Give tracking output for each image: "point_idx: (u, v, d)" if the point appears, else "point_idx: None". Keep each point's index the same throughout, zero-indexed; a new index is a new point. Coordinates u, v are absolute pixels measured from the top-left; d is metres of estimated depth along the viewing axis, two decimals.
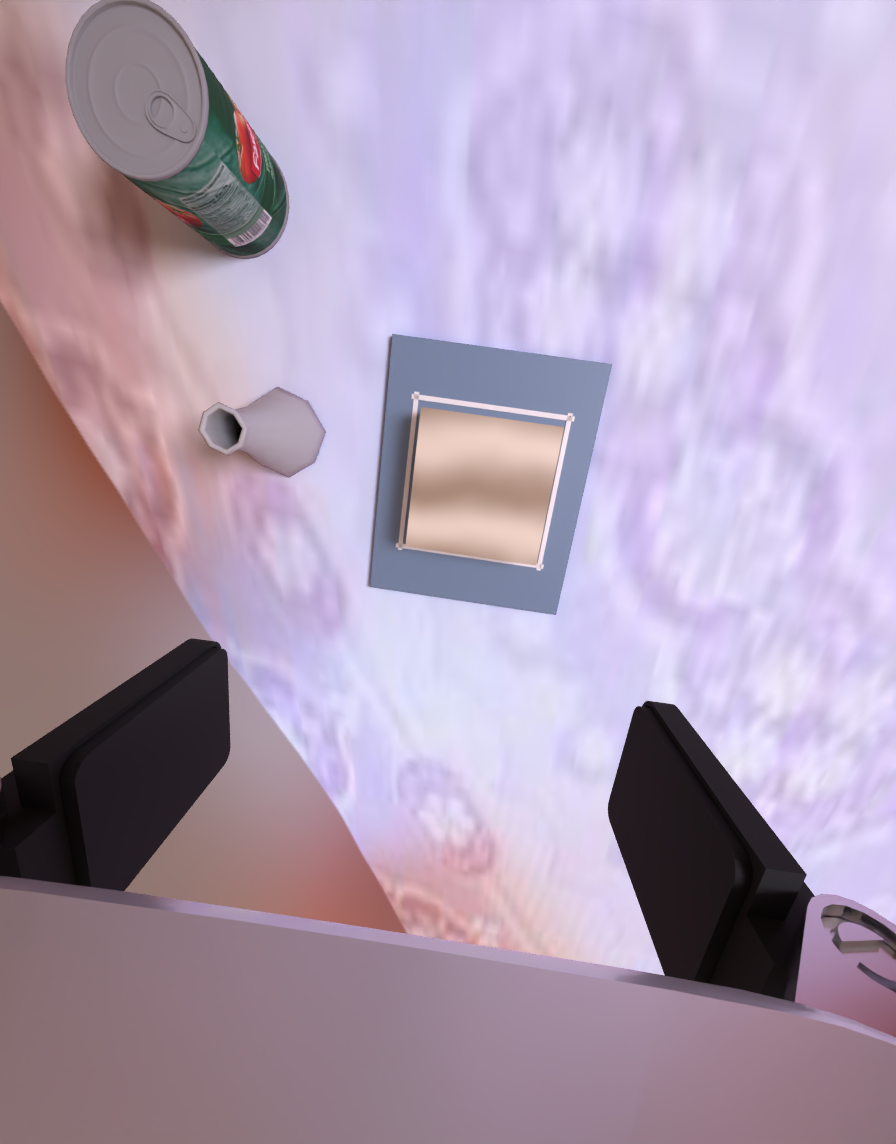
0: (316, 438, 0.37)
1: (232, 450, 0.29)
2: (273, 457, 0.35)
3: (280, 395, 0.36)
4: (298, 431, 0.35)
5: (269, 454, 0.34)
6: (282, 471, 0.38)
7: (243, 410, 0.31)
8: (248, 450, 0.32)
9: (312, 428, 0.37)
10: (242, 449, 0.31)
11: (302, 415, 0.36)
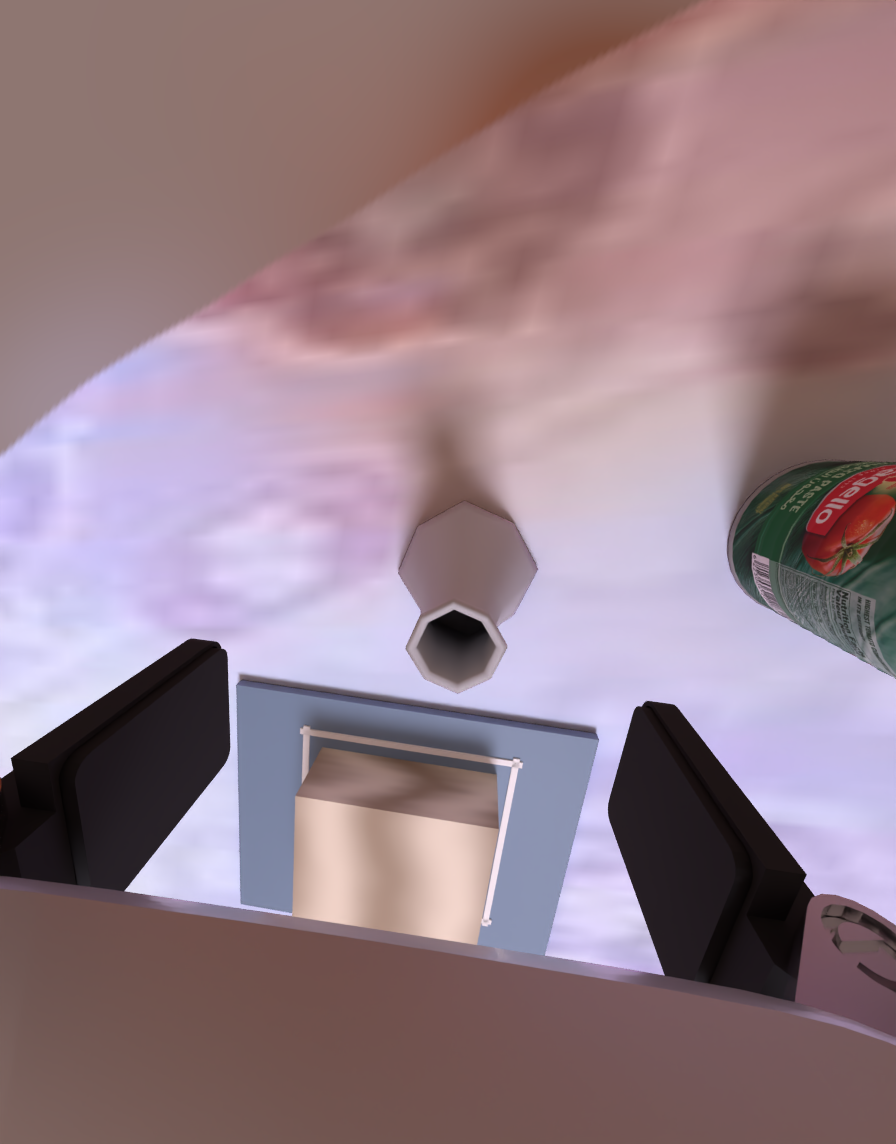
0: (458, 632, 0.24)
1: (415, 661, 0.15)
2: None
3: (523, 590, 0.22)
4: (465, 637, 0.21)
5: None
6: None
7: None
8: None
9: (472, 634, 0.23)
10: None
11: None
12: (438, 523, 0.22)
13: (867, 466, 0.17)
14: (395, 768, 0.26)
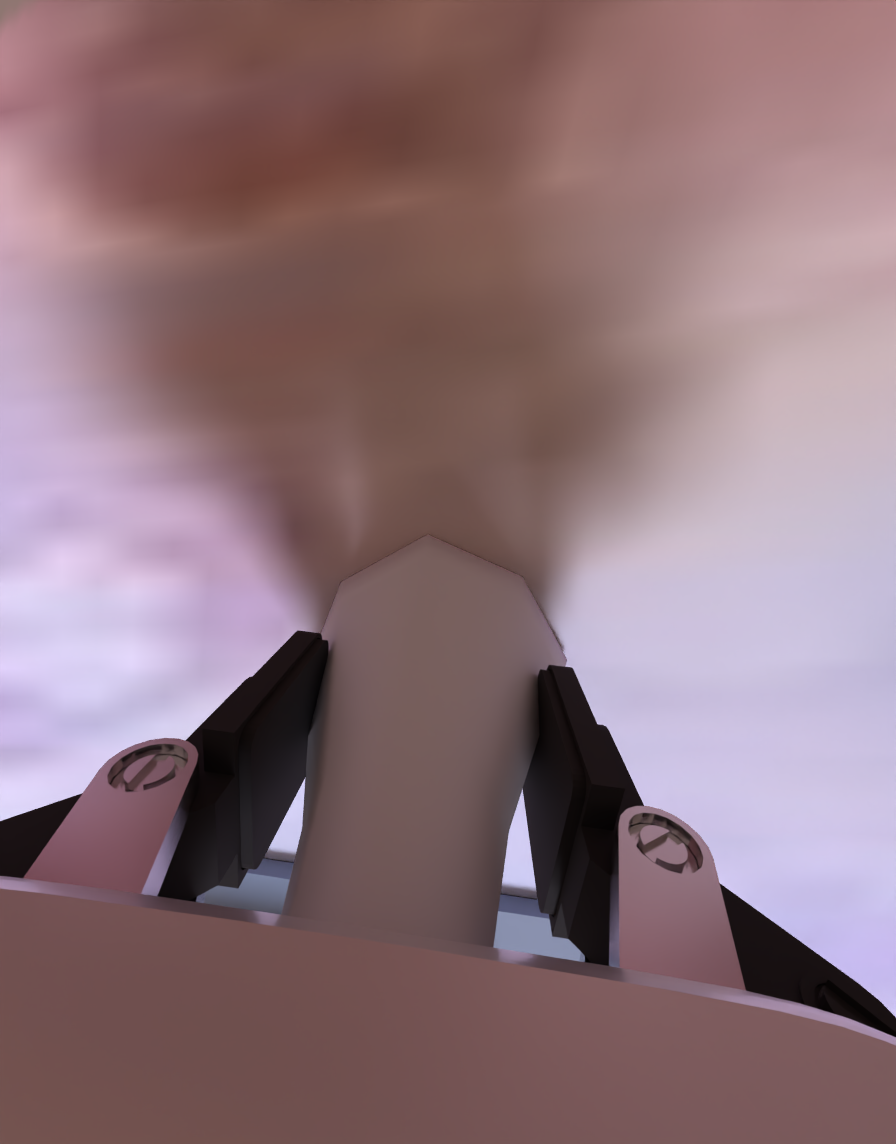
0: None
1: None
2: None
3: None
4: None
5: None
6: None
7: None
8: None
9: None
10: None
11: None
12: (376, 582, 0.11)
13: None
14: None
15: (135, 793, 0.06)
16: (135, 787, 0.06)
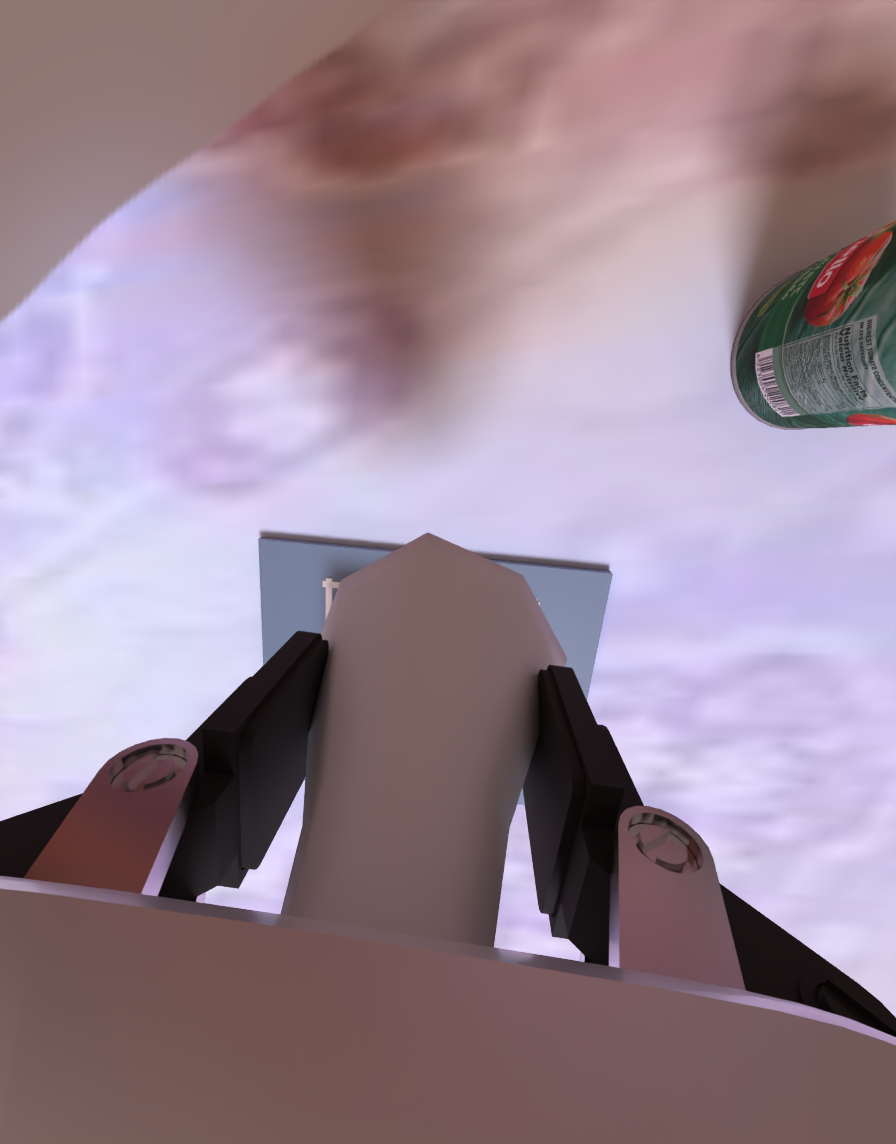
0: None
1: None
2: None
3: None
4: None
5: None
6: None
7: None
8: None
9: None
10: None
11: None
12: (376, 580, 0.11)
13: None
14: None
15: (135, 793, 0.06)
16: (135, 787, 0.06)
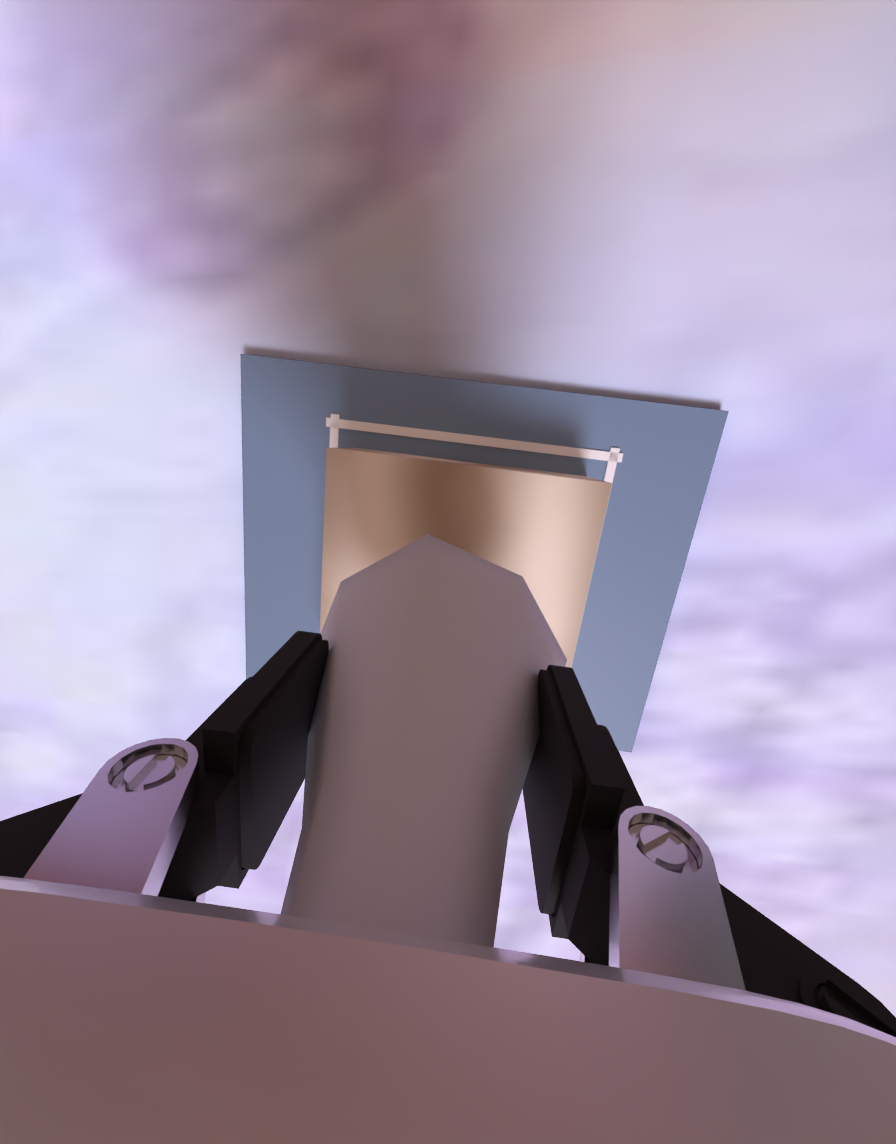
0: None
1: None
2: None
3: None
4: None
5: None
6: None
7: None
8: None
9: None
10: None
11: None
12: (376, 581, 0.11)
13: None
14: (454, 460, 0.19)
15: (135, 793, 0.06)
16: (135, 787, 0.06)
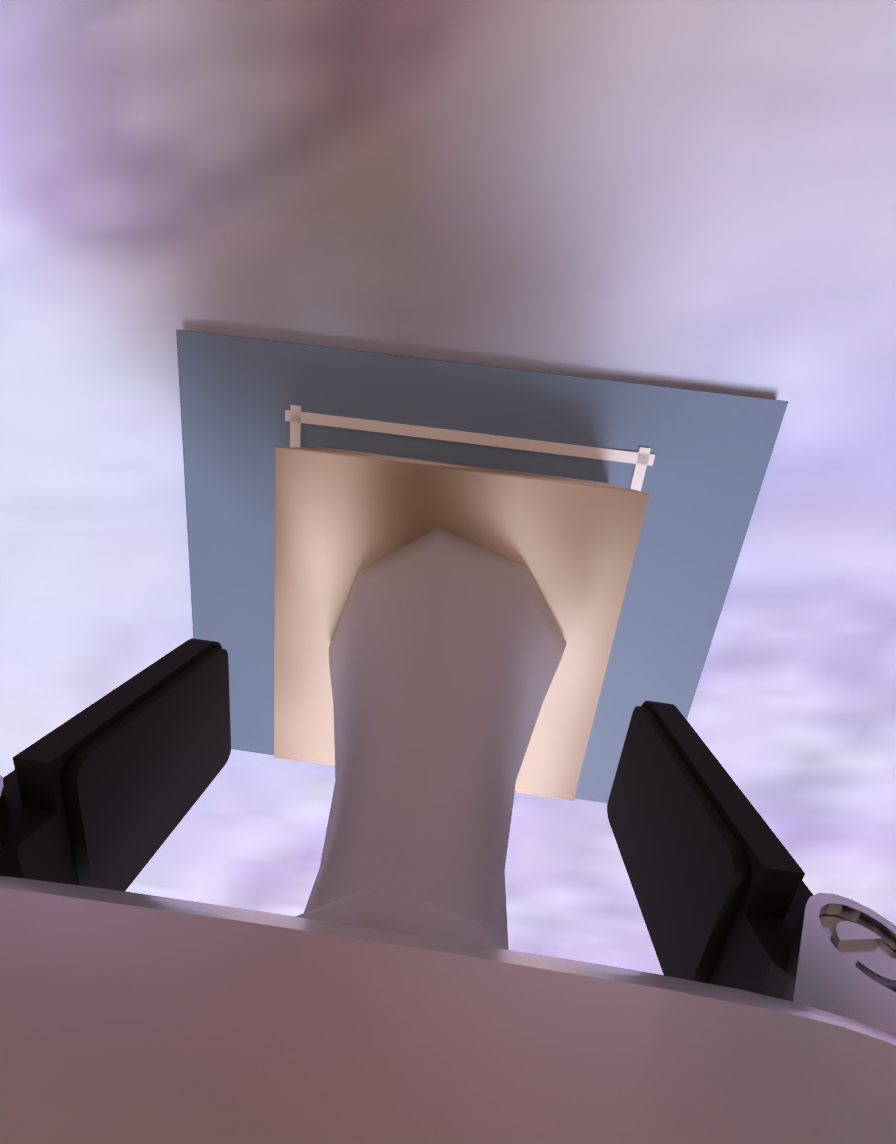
0: None
1: None
2: None
3: None
4: None
5: None
6: None
7: None
8: None
9: None
10: None
11: None
12: (392, 570, 0.12)
13: None
14: (444, 463, 0.16)
15: None
16: None
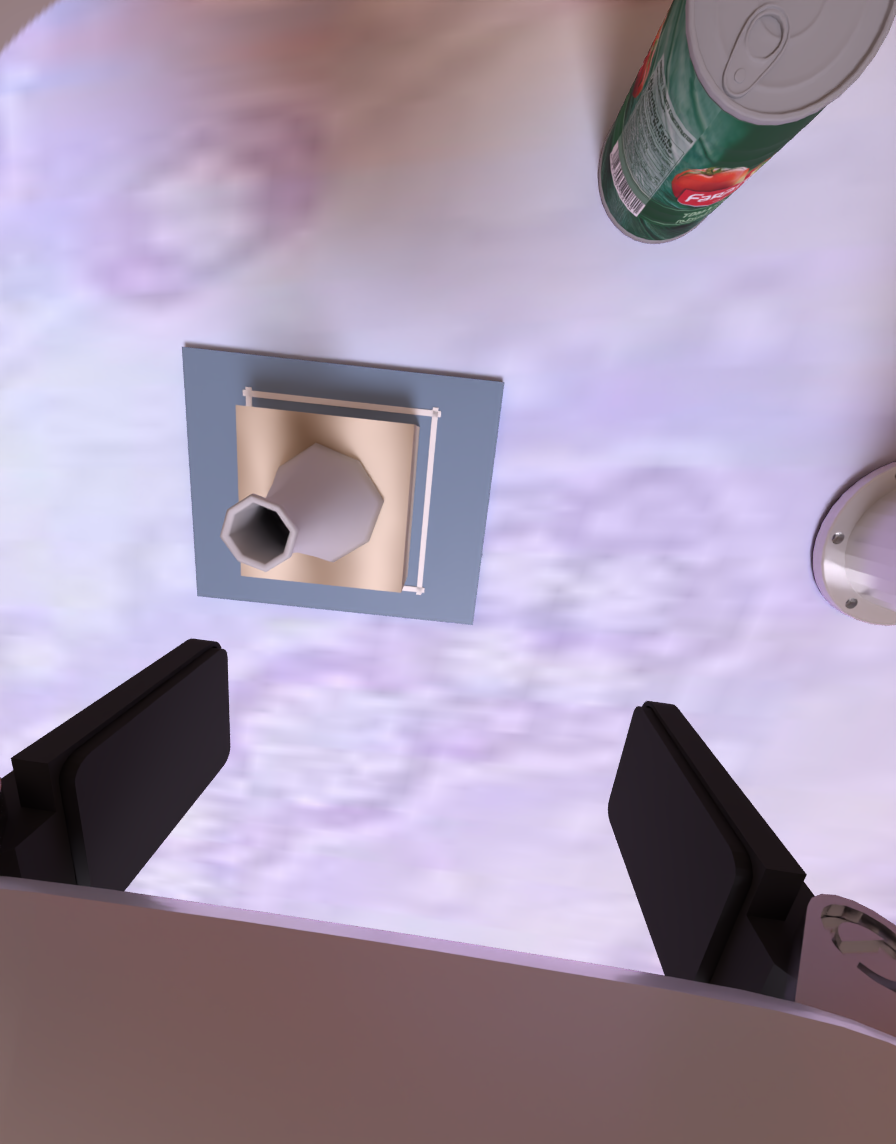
0: None
1: (228, 546, 0.19)
2: (269, 528, 0.24)
3: (367, 516, 0.26)
4: (315, 555, 0.25)
5: (269, 531, 0.23)
6: (266, 513, 0.26)
7: (311, 527, 0.21)
8: (254, 529, 0.21)
9: (329, 557, 0.27)
10: (249, 530, 0.20)
11: (343, 547, 0.27)
12: (292, 461, 0.26)
13: None
14: None
15: None
16: None
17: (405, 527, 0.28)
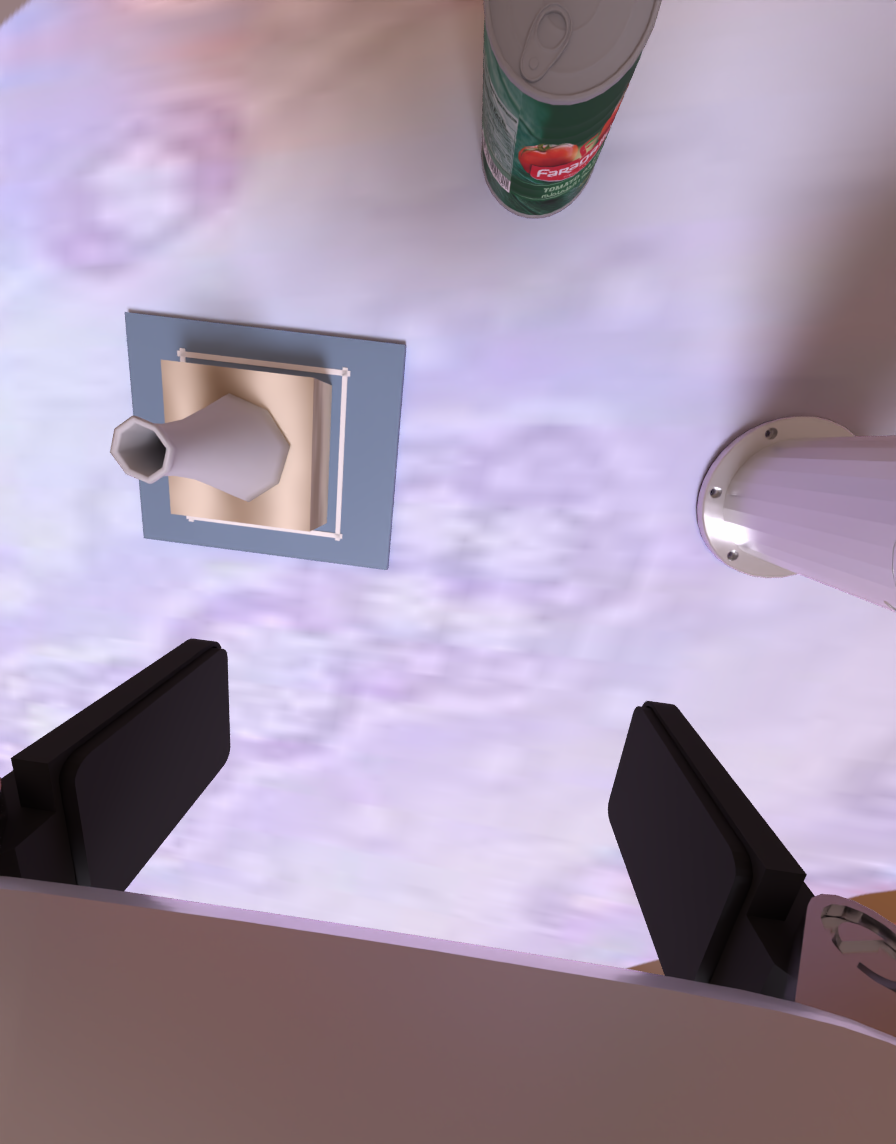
0: None
1: (117, 461, 0.23)
2: None
3: (271, 458, 0.30)
4: (221, 488, 0.29)
5: None
6: None
7: (198, 454, 0.25)
8: (152, 455, 0.25)
9: (240, 494, 0.31)
10: (144, 454, 0.24)
11: (251, 485, 0.31)
12: None
13: None
14: None
15: None
16: None
17: (310, 471, 0.32)
